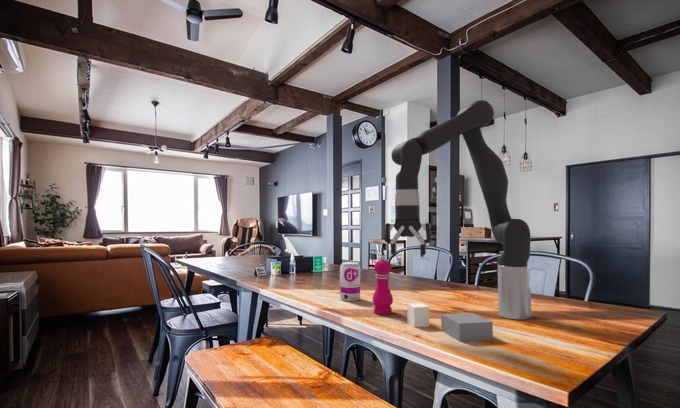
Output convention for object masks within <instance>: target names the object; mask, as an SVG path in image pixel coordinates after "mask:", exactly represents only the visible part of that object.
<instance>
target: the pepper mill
mask: <svg viewBox="0 0 680 408" xmlns="http://www.w3.org/2000/svg"><path fill="white" fill-rule="evenodd" d="M373 269H374V271H375V278H376V288H375V291H374V292H373V295H372V303H373V304H374V307H373V313H375V314H376V315H383V316H384V315H391V314H392V311H393V310H392V309H393V308H392V307H391V306H392V304H393V303H394V297H393V295H392V292H391V289H390V285H389V279H390V278H391V277H390V272H391V271H392V265H391V263H390V261H388V260H386V257H385V255H381V256H379V260H377V261H376V262H375V263H374V266H373Z"/></svg>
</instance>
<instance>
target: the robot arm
mask: <svg viewBox="0 0 680 408" xmlns="http://www.w3.org/2000/svg"><path fill="white" fill-rule="evenodd" d="M494 114H495V112H494V108H493V106H492V105H491V103H490V102H488V101H486V100H484V99H483V100H482V99H480V100H475V101H472V102H471V103H469V104H467V105H466V106H464V107H463V108H461V109H460V110H458V112H457V115H455V116H454V117H452V118H450V119H449V118H448V119H447V120H445V121H443V122H441V123H439V124H436V125H434V126H433V127H430V128H428V129H426V130H424V131H422V132H421V133H419V134H417V135H416V136H415V137H412V138H410V139H408V140H405V141H404V142H401V143H399V144H397V145H396V146H394V147H393V149H392V151H391V159H392V162H393V163H394V164H396V165H398V166H400V170H399V171H398V172H397V173H396V175H395V195H394V196H395V197H394V209H395V210H394V212H395V217H394V219H395V221H394V223H389V222H388V223H385V226H384V229H385V230H384V242H385V243H388V244H390V253H391V255H392V257H397V241H398V240H399V239H400V238H401V237H402V238H405V237H409V238H413V237H415V238H416V239H417V240H418V241H419V243H420V245H419V246H420V248H419V249H420V251H419V252H420V258H423V257H424V256H425V255H426V252H427V251H426V248H427V247H426V245H427V244H428V243H429V244H430V243H431V242H432V229H431V223H430V222H426V223H421V221H420V220H421V218H420V217H421V215H420V212H421V211H420V193H419V174H420V170H421V164H422V161H423V160H422V159H423V156H424V155H427V154H430V153H432V152H434V151H436V150H438V149H439V148H441V147H443V146H445V145H446V144H447V143H449V142H451V141H452V140H454V139H456V138H458V137H460V136H461V135H462V138H463V140H464V142H465V144H466V147H467V149H468V152H469V156H470V159H471V161H472V163H473V166H474V167H473V168H474V170H475V174H476V178H477V180H478V184H479V187H480V189H481V192H482V196H483V199H484V202H485V206H486V209H487V212H488V213H487V214H488V219H489V223H490V227H491V228H490V229H491V232H492V236H493V238H494V240H495V241H496V242H497V243H499V244H501V245H504V246H503V252H502V254H501V255H499V256H498V257H497V290H498V291H497V294H498V296H497V297H498V298H497V299H498V300H497V301H498V308H497V309H498V316H499V317H501V318H505V319H511V320H519V321H520V320H523V321H524V320H529V319H530V318H531V319H532V291H531V290H532V289H531V288H529V276H528V274H529V273H528V271H529V270H528V261H529V260H530V256H531V230H530V227H529V225H528V223H527V222H526V221H525V220H524V219H520V218H512V215H511V214H510V211H509V208H508V203H507V202H508V201H507V196H508V189H509V179H508V175H507V172H506V168H505V166H504V163H503V160H502V159H501V158H500V156H499V155H497V153H496V152H495V151H493V149H491V148H490V147H489V146H488V144H487V143H486V141H485V138H484V137H483V133H482V131H481V129H482V128H484V127H486V126H488V125H489V124H490V123H492V120H493V119H494ZM393 228H394V229H395V230H396V233H395V234H394V235H393V237H392V238H391V231H392V230H393ZM421 228H422V229H423V231H425V235H426V239H424V238H423V236H422V234H420V232H419V231H420V230H421Z"/></svg>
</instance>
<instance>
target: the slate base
mask: <svg viewBox="0 0 680 408" xmlns="http://www.w3.org/2000/svg"><path fill="white" fill-rule="evenodd" d="M440 320H441V321H440V322H441V323H440V324H441V325H440V327H441V328H440V331H442V332H444V333H445V334H446V335H448V336H450V337H451V338H453V339H454V340H456V341H457V342H460V343H461V342H473V341H474V342H475V341H476V342H477V341H490V340H492V341H493V339H494V335H493V334H494V328H493V327H494V326H493V321H491V320H489V319H487V318H485V317H483V316H481V315H478V314H476V313H473V312H461V313H458V312H457V313H441V315H440Z"/></svg>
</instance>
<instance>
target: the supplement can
mask: <svg viewBox="0 0 680 408" xmlns="http://www.w3.org/2000/svg"><path fill="white" fill-rule="evenodd" d="M339 269H340V273H339V274H340V278H339V279H340V280H339V281H340V285H339V286H340V287H339V288H340V291H339V292H340V293H339V294H340V295H339V296H340V299H341V300H342V301H344V302H356V301H359V300H360V298H361V266H360V264H359V262H356V261H355V262H354V261H343V262H341V264H340V267H339Z"/></svg>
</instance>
